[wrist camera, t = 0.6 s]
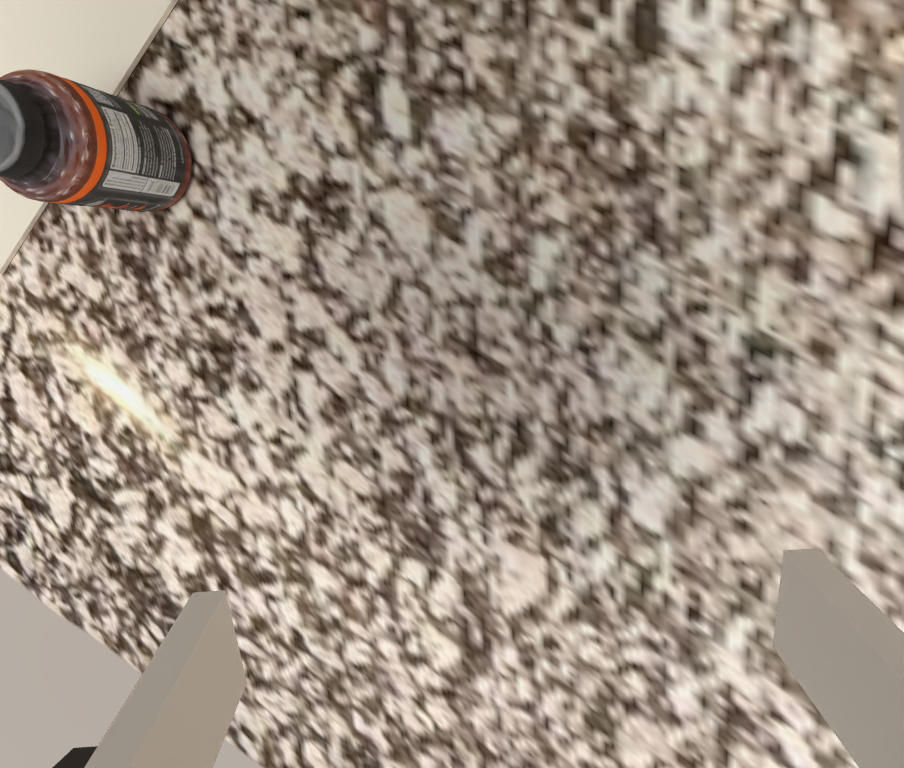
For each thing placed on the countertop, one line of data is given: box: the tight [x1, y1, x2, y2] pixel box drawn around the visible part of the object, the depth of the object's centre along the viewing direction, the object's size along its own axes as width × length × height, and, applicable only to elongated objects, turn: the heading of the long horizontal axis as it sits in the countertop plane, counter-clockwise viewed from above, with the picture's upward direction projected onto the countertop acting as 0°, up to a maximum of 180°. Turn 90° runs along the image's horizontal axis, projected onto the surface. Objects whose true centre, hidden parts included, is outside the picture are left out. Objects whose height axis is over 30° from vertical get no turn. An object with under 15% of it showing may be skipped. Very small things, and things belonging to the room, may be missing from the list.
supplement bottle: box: [0, 69, 192, 212], centre depth 31 cm, size 6×6×11 cm
